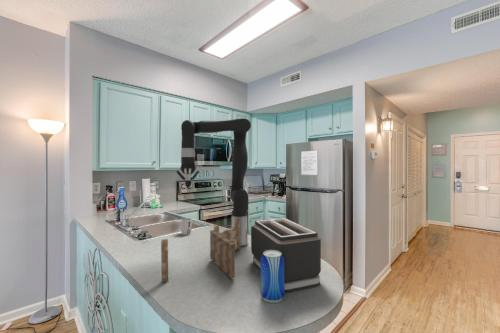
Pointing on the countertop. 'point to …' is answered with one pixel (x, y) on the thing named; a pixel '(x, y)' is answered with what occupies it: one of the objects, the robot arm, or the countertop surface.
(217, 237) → the gate
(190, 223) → the cup
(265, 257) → the beer can
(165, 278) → the fence
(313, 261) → the toaster
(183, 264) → the countertop surface
